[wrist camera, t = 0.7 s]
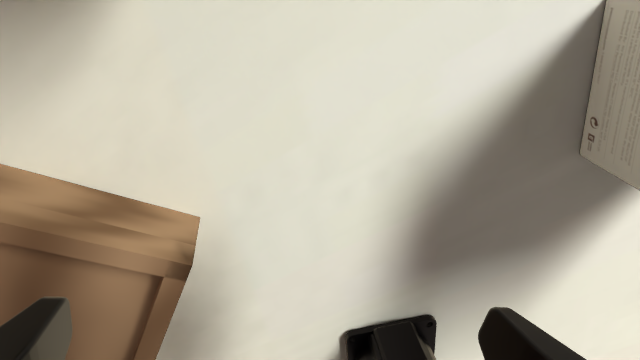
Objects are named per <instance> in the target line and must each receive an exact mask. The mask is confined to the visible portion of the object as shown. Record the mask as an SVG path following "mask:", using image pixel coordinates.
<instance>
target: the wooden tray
mask: <svg viewBox="0 0 640 360" xmlns="http://www.w3.org/2000/svg"><path fill="white" fill-rule="evenodd" d="M199 222H200V217H197V216H193V215H189V214H185V213H182V212H178V211H174V210H171V209H167V208H163V207H159V206H156V205H152V204H148V203H144V202H141V201H137V200H133V199H129V198H126V197H122V196H118V195H114V194H111V193H107V192H103V191H99V190H96V189H92V188H88V187H85V186H81V185H77V184H73V183H70V182H66V181H62V180H58V179H55V178H51V177H47V176H43V175H40V174H36V173H32V172H28V171H25V170H21V169H17V168H14V167H10V166H6V165H2V164H0V326H1V325H3V324H4V323H5V322H7V321H8V320H10V319H11V318H13V317H14V316H15V315H17V314H18V313H20V312H21V311H23V310H24V309H25V308H27V307H28V306H30V305H31V304H32V303H34V302H35V301H37V300H38V299H40V298H42V297H46V296H51V297H66V298H68V300H69V303H70V310H71V319H72V329H73V330H72V338H71V342H70V345H69V348H68V351H67V354H66V357H65V360H155V359H156V356H157V354H158V351H159V349H160V346H161V344H162V341H163V339H164V336H165V333H166V331H167V328H168V326H169V323H170V321H171V318H172V316H173V313H174V311H175V308H176V305H177V303H178V300H179V298H180V295H181V293H182V290H183V288H184V285H185V283H186V280H187V277H188V275H189V272H190V270H191V267H192V264H193V258H194V252H195V246H196V240H197V234H198V228H199Z"/></svg>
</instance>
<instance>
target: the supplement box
mask: <svg viewBox="0 0 640 360" xmlns="http://www.w3.org/2000/svg"><path fill="white" fill-rule="evenodd" d="M580 155H581V156H582V157H584V158H586V159H587V160H589V161H590V162H592V163H594V164H595V165H597V166H599V167H601V168H602V169H604V170H606V171H608V172H609V173H611V174H613V175H614V176H616V177H618V178H619V179H621V180H623V181H625V182H626V183H628V184H629V185H631V186H633V187H635V188H636V189H638V190H640V0H607V1H606V6H605V12H604V17H603V24H602V29H601V34H600V40H599V45H598V51H597V57H596V62H595V68H594V74H593V80H592V86H591V92H590V97H589V103H588V108H587V114H586V120H585V126H584V131H583V137H582V143H581V149H580Z"/></svg>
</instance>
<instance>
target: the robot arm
mask: <svg viewBox="0 0 640 360" xmlns="http://www.w3.org/2000/svg"><path fill="white" fill-rule="evenodd" d="M436 324H437V323H436V320H435V318H434V317H433V316H431V315H427V316H422V317H417V318H412V319H407V320H402V321H397V322H392V323H387V324H382V325H377V326H372V327H367V328H362V329H357V330H352V331H349V332H348V333H347V334H346V336H345V339H346V350H347V360H436V358H435V356H434V350H435V337H436ZM72 330H73V329H72V319H71V310H70V303H69V300H68V298H66V297H51V296H46V297H42V298H40V299H38V300H37V301H35V302H34V303H32V304H31V305H30V306H28V307H27V308H25V309H24V310H23V311H21V312H20V313H18V314H17V315H15V316H14V317H13V318H11V319H10V320H8V321H7V322H5V323H4V324H3V325H1V326H0V360H65V357H66V354H67V351H68V348H69V345H70V342H71V338H72ZM478 340H479V344H480V347H481V350H482V353H483V356H484V359H485V360H586V359H585V358H583V357H582V356H580V355H579V354H577V353H576V352H574V351H573V350H571V349H570V348H568V347H567V346H565V345H564V344H562V343H561V342H559V341H558V340H556V339H555V338H553V337H552V336H550V335H549V334H547V333H546V332H544V331H543V330H541V329H540V328H538V327H537V326H535V325H534V324H533V323H531V322H530V321H528V320H527V319H525V318H524V317H522V316H521V315H519V314H518V313H516V312H515V311H513V310H512V309H510V308H505V307H494V308H491V309H490V310H489V312H488V314H487V316H486V318H485V320H484V322H483V324H482V326H481V328H480V330H479V334H478Z"/></svg>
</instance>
